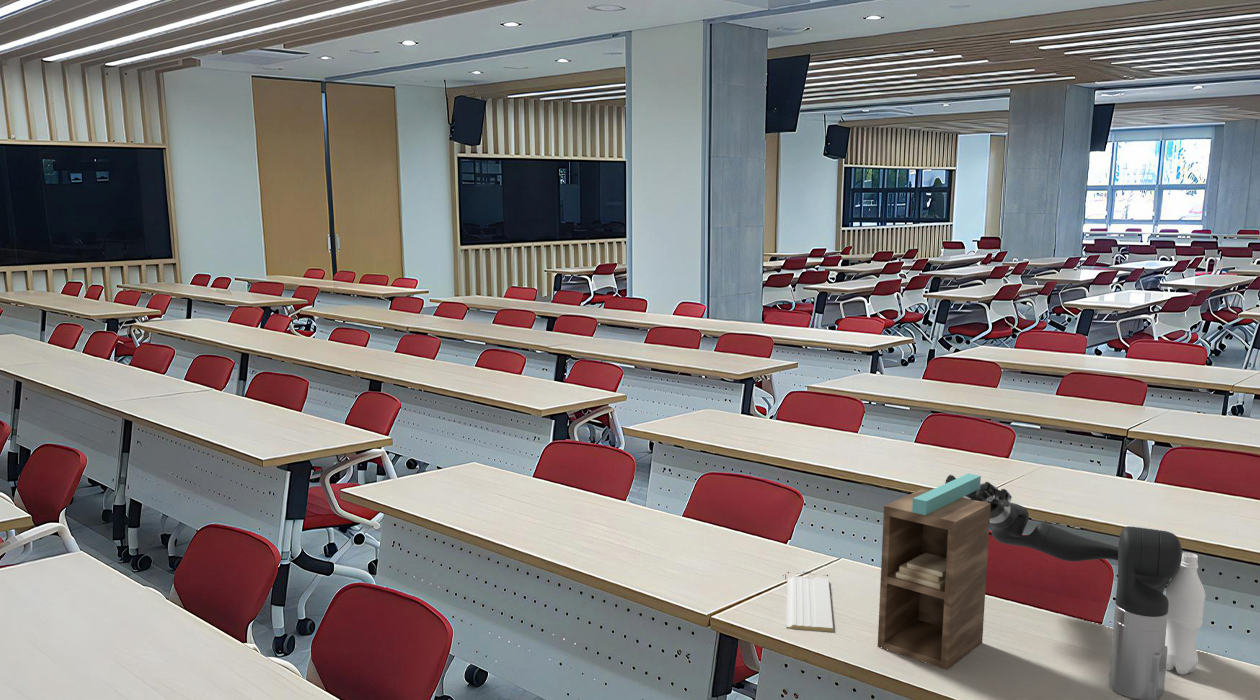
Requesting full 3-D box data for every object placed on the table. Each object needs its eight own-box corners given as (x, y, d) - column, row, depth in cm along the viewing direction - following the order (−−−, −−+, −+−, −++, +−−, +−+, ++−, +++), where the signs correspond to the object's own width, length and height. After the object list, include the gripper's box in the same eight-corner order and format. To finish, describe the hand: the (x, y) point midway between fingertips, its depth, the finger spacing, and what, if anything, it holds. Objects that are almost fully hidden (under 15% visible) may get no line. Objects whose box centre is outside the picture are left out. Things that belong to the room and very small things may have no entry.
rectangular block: (980, 488, 218) (980, 475, 218) (925, 515, 198) (926, 501, 197) (967, 486, 220) (968, 473, 220) (912, 512, 200) (912, 498, 199)
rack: (982, 642, 211) (990, 503, 206) (947, 670, 197) (955, 521, 193) (914, 622, 221) (921, 489, 217) (877, 646, 208) (884, 505, 204)
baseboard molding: (779, 630, 218) (832, 634, 216) (780, 618, 217) (833, 622, 215) (781, 580, 248) (828, 583, 246) (781, 569, 248) (828, 573, 246)
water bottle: (1152, 668, 199) (1165, 554, 195) (1163, 657, 204) (1175, 546, 200) (1191, 680, 194) (1204, 563, 190) (1201, 669, 199) (1214, 555, 195)
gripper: (965, 483, 233) (941, 461, 222) (1023, 495, 223) (1002, 472, 212) (957, 512, 231) (933, 491, 220) (1015, 525, 222) (994, 504, 210)
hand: (967, 482), depth 216 cm, fingers open, 8 cm apart
